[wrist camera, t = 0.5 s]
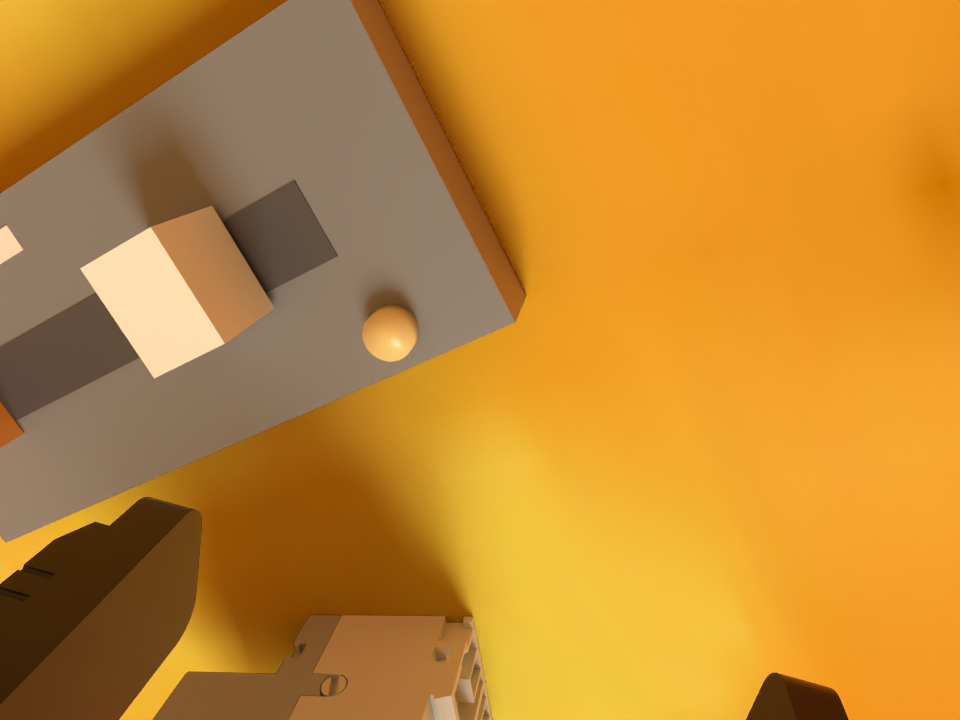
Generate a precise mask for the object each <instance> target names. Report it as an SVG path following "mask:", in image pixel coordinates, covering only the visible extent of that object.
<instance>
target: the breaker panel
mask: <svg viewBox="0 0 960 720" xmlns="http://www.w3.org/2000/svg"><path fill="white" fill-rule="evenodd" d="M209 206H213V208H214V209H215V211H216V213H217V214H218V216H219V218H220V219H221V221H222V223H223V224H224V226H225V228H226V229H227V231H228V232H229V234H230V236H231V237H232V239H233V241H234V242H235V244H236V246H237V247H238V249H239V251H240V252H241V254H242V256H243V257H244V259H245V260H246V262H247V264H248V265H249V267H250V269H251V270H252V272H253V274H254V275H255V277H256V279H257V280H258V282H259V284H260V285H261V287H262V288H263V290H264V292H265V293H266V295H267V297H268V298H269V300H270V302H271V303H272V305H273V307H274V308H275V309H273V310H272V311H270V312H269V313H268V314H266V315H265V316H263V317H262V318H260V319H259V320H258V321H256V322H255V323H253V324H252V325H251V326H249V327H248V328H246V329H245V330H243V331H242V332H241V333H239V334H238V335H236V336H235V337H234V338H232V339H231V340H229V341H228V342H226V343H225V344H223V345H221V346H219V347H217V348H215V349H213V350H211V351H209V352H207V353H205V354H203V355H201V356H199V357H197V358H195V359H193V360H191V361H189V362H187V363H185V364H183V365H181V366H179V367H177V368H175V369H173V370H170V371H168V372H166V373H164V374H162V375H160V376H158V377H156V378H154V377H153V376H152V374H151V373H150V371H149V370H148V369H147V367H146V366H145V364H144V363H143V361H142V360H141V358H140V357H139V355H138V354H137V352H136V351H135V349H134V348H133V346H132V345H131V343H130V342H129V340H128V339H127V337H126V336H125V334H124V333H123V332H122V330H121V329H120V327H119V326H118V324H117V323H116V321H115V320H114V318H113V317H112V315H111V314H110V312H109V311H108V309H107V308H106V306H105V305H104V303H103V302H102V300H101V299H100V297H99V296H98V295H97V293H96V292H95V290H94V289H93V287H92V286H91V284H90V283H89V281H88V280H87V278H86V277H85V275H84V274H83V272H82V271H81V269H80V268H82V267H84V266H85V265H87V264H89V263H90V262H92V261H94V260H95V259H97V258H99V257H101V256H102V255H104V254H106V253H107V252H109V251H111V250H112V249H114V248H116V247H118V246H119V245H121V244H123V243H124V242H126V241H128V240H129V239H131V238H133V237H135V236H136V235H138V234H140V233H141V232H143V231H145V230H146V229H148V228H150V227H152V226H155V225H158V224H161V223H164V222H166V221H169V220H172V219H175V218H178V217H181V216H184V215H186V214H189V213H192V212H195V211H198V210H201V209H204V208H206V207H209ZM525 298H526V294H525V292H524V290H523V288H522V286H521V284H520V283H519V281H518V279H517V277H516V275H515V273H514V271H513V269H512V267H511V265H510V263H509V261H508V259H507V257H506V255H505V253H504V251H503V249H502V247H501V245H500V243H499V241H498V239H497V237H496V235H495V233H494V231H493V229H492V227H491V225H490V223H489V221H488V219H487V217H486V215H485V213H484V211H483V209H482V207H481V205H480V203H479V201H478V199H477V197H476V195H475V193H474V191H473V189H472V187H471V185H470V183H469V181H468V179H467V177H466V175H465V173H464V171H463V169H462V167H461V165H460V163H459V161H458V159H457V157H456V155H455V153H454V151H453V149H452V147H451V145H450V143H449V141H448V139H447V137H446V135H445V133H444V131H443V129H442V127H441V125H440V123H439V121H438V119H437V117H436V115H435V113H434V111H433V109H432V107H431V105H430V103H429V101H428V99H427V97H426V95H425V93H424V91H423V89H422V87H421V85H420V83H419V81H418V79H417V77H416V75H415V73H414V71H413V69H412V67H411V65H410V63H409V61H408V59H407V57H406V55H405V53H404V51H403V49H402V47H401V45H400V43H399V41H398V40H397V38H396V36H395V34H394V32H393V30H392V28H391V26H390V24H389V22H388V20H387V18H386V16H385V14H384V12H383V10H382V8H381V6H380V4H379V2H378V0H287V1H286V2H284V3H283V4H281V5H280V6H278V7H277V8H275V9H274V10H272V11H271V12H269V13H268V14H266V15H265V16H264V17H262V18H261V19H259V20H258V21H256V22H255V23H253V24H252V25H250V26H249V27H247V28H246V29H244V30H243V31H241V32H240V33H238V34H237V35H235V36H234V37H232V38H231V39H229V40H228V41H226V42H225V43H223V44H222V45H220V46H219V47H217V48H216V49H214V50H213V51H211V52H210V53H208V54H207V55H205V56H204V57H203V58H201V59H200V60H198V61H197V62H195V63H194V64H192V65H191V66H189V67H188V68H186V69H185V70H183V71H182V72H180V73H179V74H177V75H176V76H174V77H173V78H171V79H170V80H168V81H167V82H165V83H164V84H162V85H161V86H159V87H158V88H156V89H155V90H153V91H152V92H150V93H149V94H147V95H146V96H145V97H143V98H142V99H140V100H139V101H137V102H136V103H134V104H133V105H131V106H130V107H128V108H127V109H125V110H124V111H122V112H121V113H119V114H118V115H116V116H115V117H113V118H112V119H110V120H109V121H107V122H106V123H104V124H103V125H101V126H100V127H98V128H97V129H95V130H94V131H92V132H91V133H89V134H88V135H86V136H85V137H84V138H82V139H81V140H79V141H78V142H76V143H75V144H73V145H72V146H70V147H69V148H67V149H66V150H64V151H63V152H61V153H60V154H58V155H57V156H55V157H54V158H52V159H51V160H49V161H48V162H46V163H45V164H43V165H42V166H40V167H39V168H37V169H36V170H34V171H33V172H31V173H30V174H28V175H27V176H26V177H24V178H23V179H21V180H20V181H18V182H17V183H15V184H14V185H12V186H11V187H9V188H8V189H6V190H5V191H3V192H2V193H0V402H1V403H2V405H3V406H4V407H5V409H6V410H7V411H8V413H9V414H10V415H11V417H12V418H13V419H14V421H15V422H16V423H17V425H18V426H19V427H20V429H21V430H22V431H23V433H24V434H22V435H21V436H19V437H17V438H16V439H14V440H12V441H11V442H9V443H8V444H6V445H4V446H3V447H1V448H0V536H1V537H2V538H3V540H4V541H5V542H8V541H11V540H13V539H15V538H18V537H20V536H22V535H25V534H27V533H29V532H32V531H34V530H36V529H39V528H41V527H43V526H45V525H48V524H50V523H52V522H55V521H57V520H59V519H62V518H64V517H66V516H69V515H71V514H73V513H75V512H78V511H80V510H82V509H85V508H87V507H89V506H92V505H94V504H96V503H99V502H101V501H103V500H106V499H108V498H110V497H112V496H115V495H117V494H119V493H122V492H124V491H126V490H129V489H131V488H133V487H136V486H138V485H140V484H143V483H145V482H147V481H149V480H152V479H154V478H156V477H159V476H161V475H163V474H166V473H168V472H170V471H173V470H175V469H177V468H179V467H182V466H184V465H186V464H189V463H191V462H193V461H196V460H198V459H200V458H203V457H205V456H207V455H210V454H212V453H214V452H216V451H219V450H221V449H223V448H226V447H228V446H230V445H233V444H235V443H237V442H240V441H242V440H244V439H247V438H249V437H251V436H253V435H256V434H258V433H260V432H263V431H265V430H267V429H270V428H272V427H274V426H277V425H279V424H281V423H284V422H286V421H288V420H290V419H293V418H295V417H297V416H300V415H302V414H304V413H307V412H309V411H311V410H314V409H316V408H318V407H320V406H323V405H325V404H327V403H330V402H332V401H334V400H337V399H339V398H341V397H344V396H346V395H348V394H351V393H353V392H355V391H357V390H360V389H362V388H364V387H367V386H369V385H371V384H374V383H376V382H378V381H381V380H383V379H385V378H388V377H390V376H392V375H394V374H397V373H399V372H401V371H404V370H406V369H408V368H411V367H413V366H415V365H418V364H420V363H422V362H425V361H427V360H429V359H431V358H434V357H436V356H438V355H441V354H443V353H445V352H448V351H450V350H452V349H455V348H457V347H459V346H461V345H464V344H466V343H468V342H471V341H473V340H475V339H478V338H480V337H482V336H485V335H487V334H489V333H492V332H494V331H496V330H498V329H501V328H503V327H505V326H508V325H510V324H512V323H515V321H516V319H517V317H518V314H519V312H520V310H521V307H522V305H523V303H524V300H525Z"/></svg>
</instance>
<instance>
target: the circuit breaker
mask: <svg viewBox="0 0 960 720" xmlns="http://www.w3.org/2000/svg"><path fill="white" fill-rule="evenodd" d="M294 647H295V653H294V654H293V656H292V657H290V656H289V655H287V656H286V658H285V659H284V661H283V663H282V665H281V666H280V668H279V670H278V671H277V672H276V673H275V674H269V673H228V672H187V673H186V674H185V675H184V677H183V678H182V679H181V681H180V682H179V684H178V685H177V686H176V688H175V689H174V691H173V692H172V693H171V695H170V696H169V697H168V699H167V700H166V702H165V703H164V704H163V706H162V707H161V709H160V710H159V711H158V713H157V714H156V716H155V717H154V718H153V720H493V719H492V714H491V709H490V703H489V698H488V693H487V687H486V682H485V677H484V671H483V666H482V661H481V655H480V650H479V645H478V640H477V634H476V629H475V624H474V618H473V616H464V619H463V623H447V622H446V617H445V616H382V615H311V616H309V617H308V619H307V621H306V623H305V624H304V626H303V628H302V630H301V631H300V633H299V635H298V637H297V638H296V640H295V642H294Z"/></svg>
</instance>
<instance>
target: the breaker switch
mask: <svg viewBox="0 0 960 720" xmlns="http://www.w3.org/2000/svg"><path fill="white" fill-rule="evenodd" d="M80 269H81V271H82V272H83V274H84V275H85V277H86V278H87V280H88V281H89V283H90V284H91V286H92V287H93V289H94V290H95V292H96V293H97V295H98V296H99V297H100V299H101V300H102V302H103V303H104V305H105V306H106V308H107V309H108V311H109V312H110V314H111V315H112V317H113V318H114V320H115V321H116V323H117V324H118V326H119V327H120V329H121V330H122V332H123V333H124V334H125V336H126V337H127V339H128V340H129V342H130V343H131V345H132V346H133V348H134V349H135V351H136V352H137V354H138V355H139V357H140V358H141V360H142V361H143V363H144V364H145V366H146V367H147V369H148V370H149V371H150V373H151V374H152V376H153V377H154V378H156V377H158V376H160V375H162V374H164V373H166V372H168V371H170V370H173V369H175V368H177V367H179V366H181V365H183V364H185V363H187V362H189V361H191V360H193V359H195V358H197V357H199V356H201V355H203V354H205V353H207V352H209V351H211V350H213V349H215V348H217V347H219V346H221V345H223V344H225V343H226V342H228V341H229V340H231V339H232V338H234V337H235V336H236V335H238V334H239V333H241V332H242V331H243V330H245V329H246V328H248V327H249V326H251V325H252V324H253V323H255V322H256V321H258V320H259V319H260V318H262V317H263V316H265V315H266V314H268V313H269V312H270V311H272V310H273V309H275V308H274V307H273V305H272V303H271V302H270V300H269V298H268V297H267V295H266V293H265V292H264V290H263V288H262V287H261V285H260V284H259V282H258V280H257V279H256V277H255V275H254V274H253V272H252V270H251V269H250V267H249V265H248V264H247V262H246V260H245V259H244V257H243V256H242V254H241V252H240V251H239V249H238V247H237V246H236V244H235V242H234V241H233V239H232V237H231V236H230V234H229V232H228V231H227V229H226V228H225V226H224V224H223V223H222V221H221V219H220V218H219V216H218V214H217V213H216V211H215V209H214V208H213V206H209V207H206V208H204V209H201V210H198V211H195V212H192V213H189V214H186V215H184V216H181V217H178V218H175V219H172V220H169V221H166V222H164V223H161V224H158V225H155V226H152V227H150V228H148V229H146V230H145V231H143V232H141V233H140V234H138V235H136V236H135V237H133V238H131V239H129V240H128V241H126V242H124V243H123V244H121V245H119V246H118V247H116V248H114V249H112V250H111V251H109V252H107V253H106V254H104V255H102V256H101V257H99V258H97V259H95V260H94V261H92V262H90V263H89V264H87V265H85V266H84V267H82V268H80Z"/></svg>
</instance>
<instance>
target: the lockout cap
mask: <svg viewBox="0 0 960 720" xmlns="http://www.w3.org/2000/svg"><path fill="white" fill-rule="evenodd" d="M22 434H24V433H23V431H22V430H21V429H20V427H19V426H18V425H17V423H16V422H15V421H14V419H13V418H12V417H11V415H10V414H9V413H8V411H7V410H6V409H5V407H4V406H3V405H2V403H1V402H0V448H1V447H3V446H4V445H6V444H8V443H9V442H11V441H12V440H14V439H16V438H17V437H19V436H21V435H22Z"/></svg>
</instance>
